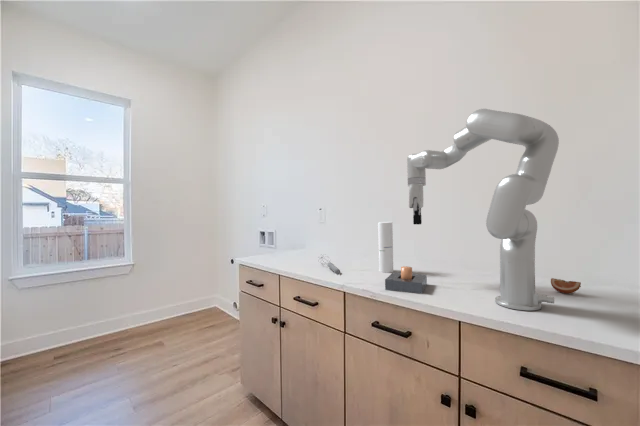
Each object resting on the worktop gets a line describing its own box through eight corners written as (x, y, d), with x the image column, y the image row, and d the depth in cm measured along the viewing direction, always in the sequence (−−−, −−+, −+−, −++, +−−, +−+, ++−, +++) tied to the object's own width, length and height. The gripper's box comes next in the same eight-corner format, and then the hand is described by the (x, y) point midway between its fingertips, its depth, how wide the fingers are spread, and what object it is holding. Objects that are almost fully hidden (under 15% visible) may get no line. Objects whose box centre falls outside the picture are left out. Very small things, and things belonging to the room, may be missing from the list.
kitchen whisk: (333, 276, 143) (333, 263, 143) (316, 264, 176) (316, 253, 176) (345, 275, 145) (345, 262, 144) (326, 263, 177) (326, 252, 177)
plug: (412, 286, 121) (412, 266, 121) (411, 288, 117) (411, 269, 117) (402, 284, 123) (401, 266, 123) (400, 287, 119) (400, 268, 119)
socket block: (426, 284, 123) (426, 274, 123) (422, 293, 111) (421, 282, 110) (393, 281, 129) (393, 272, 129) (385, 289, 117) (385, 279, 117)
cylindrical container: (393, 272, 146) (392, 222, 145) (379, 272, 147) (378, 222, 147) (393, 269, 153) (392, 221, 152) (379, 269, 154) (378, 222, 154)
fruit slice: (582, 293, 105) (582, 280, 105) (579, 298, 101) (579, 283, 101) (552, 289, 111) (552, 276, 111) (549, 293, 107) (548, 279, 107)
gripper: (410, 184, 137) (411, 223, 137) (404, 181, 123) (405, 225, 124) (427, 183, 133) (428, 223, 134) (423, 180, 120) (424, 225, 120)
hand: (417, 224), depth 129 cm, fingers closed
